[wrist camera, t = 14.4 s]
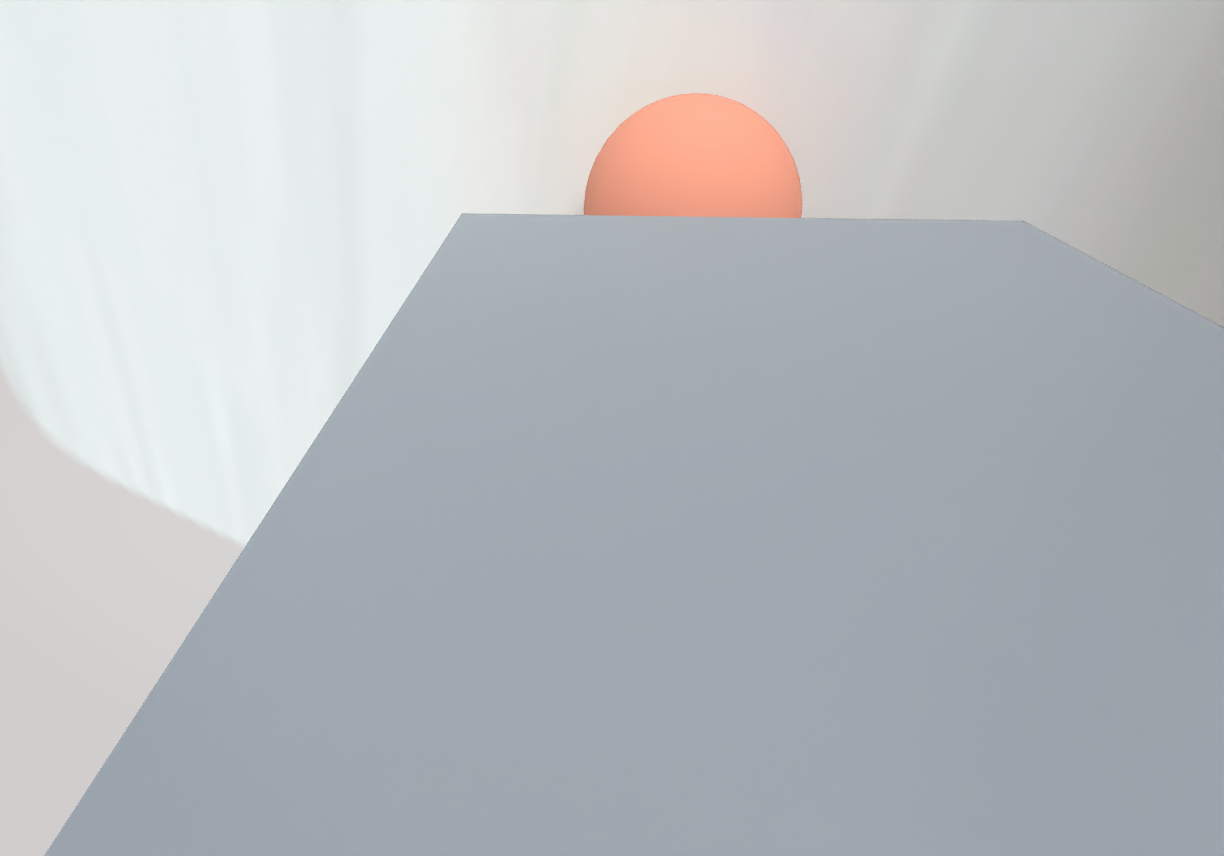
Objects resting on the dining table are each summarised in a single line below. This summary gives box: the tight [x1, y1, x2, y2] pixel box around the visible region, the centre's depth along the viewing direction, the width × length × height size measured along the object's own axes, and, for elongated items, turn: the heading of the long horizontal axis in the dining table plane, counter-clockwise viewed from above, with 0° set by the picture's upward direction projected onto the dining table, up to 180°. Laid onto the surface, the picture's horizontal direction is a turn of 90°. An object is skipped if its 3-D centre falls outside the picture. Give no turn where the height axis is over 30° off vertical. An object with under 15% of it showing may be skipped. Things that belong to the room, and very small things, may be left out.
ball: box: [584, 93, 802, 218], centre depth 17 cm, size 5×5×5 cm
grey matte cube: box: [44, 214, 1224, 856], centre depth 8 cm, size 8×8×9 cm
